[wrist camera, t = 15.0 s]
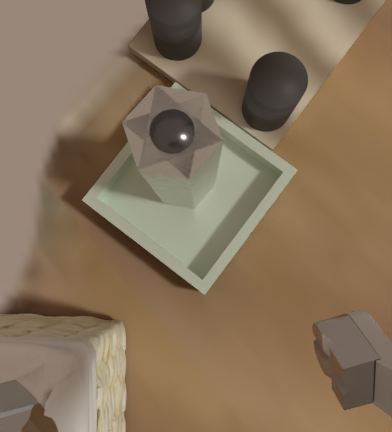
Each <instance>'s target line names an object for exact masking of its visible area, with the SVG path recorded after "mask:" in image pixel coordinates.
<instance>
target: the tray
mask: <svg viewBox="0 0 392 432" xmlns="http://www.w3.org/2000/svg"><path fill="white" fill-rule="evenodd" d="M171 88H177V89H183V90H186V89H185V88H183V87H182V86H181V85H179V84H178V83H176V82H175V83H174V84H173V85H172V87H171ZM211 109H212V108H211ZM212 111H213V114H214V117H215V120H216V122H217V125H218V128H219V131H220V133H221V136H222V139H223V145H222V150H221V156H220V161H219V167H218V172H217V177H216V183H215V186H214V187H213V188H212V190H211V191H210V192H209V193H208V194H207V195H206V196H205V198H204V199H203V200H202V201H201V202H200V203H199V205H198V206H197V207H196V208H195V209H192V208H187V207H182V206H176V205H171V204H166V203H163V201H162V200H161V199H160V197H159V196H158V195H157V194H156V192H155V191H154V190H153V189H152V187H151V186H150V185H149V184H148V182H147V181H146V180H145V179H144V177H143V176H142V175H141V173H140V172H139V171H138V169H137V166H136V163H135V160H134V157H133V154H132V151H131V148H130V145H129V142H127V143H126V145H125V146H124V147H123V149H122V150H121V151H120V152H119V154H118V155H117V156H116V157H115V159H114V160H113V161H112V162H111V164H110V165H109V166H108V168H107V169H106V170H105V171H104V173H103V174H102V175H101V176H100V178H99V179H98V180H97V181H96V183H95V184H94V185H93V186H92V188H91V189H90V190H89V192H88V193H87V194H86V195H85V197H84V198H83V199H82V201H83V202H85V203H86V204H87V205H89V206H90V207H91V208H93V209H94V210H95V211H96V212H98V213H99V214H100V215H102V216H103V217H104V218H105V219H107V220H108V221H109V222H111V223H112V224H113V225H115V226H116V227H117V228H118V229H120V230H121V231H122V232H124V233H125V234H126V235H128V236H129V237H130V238H131V239H133V240H134V241H135V242H137V243H138V244H139V245H140V246H142V247H143V248H144V249H146V250H147V251H148V252H150V253H151V254H152V255H153V256H155V257H156V258H157V259H159V260H160V261H161V262H163V263H164V264H165V265H166V266H168V267H169V268H170V269H172V270H173V271H174V272H176V273H177V274H178V275H179V276H181V277H182V278H183V279H185V280H186V281H187V282H188V283H190V284H191V285H192V286H194V287H195V288H196V289H198V290H199V291H200V292H201V293H203V294H204V295H205V294H206V293H207V291H208V290H209V289H210V287H211V286H212V284H213V283H214V282H215V280H216V279H217V278H218V276H219V275H220V274H221V272H222V271H223V270H224V268H225V267H226V266H227V264H228V263H229V262H230V260H231V259H232V258H233V256H234V255H235V254H236V252H237V251H238V250H239V248H240V247H241V246H242V244H243V243H244V242H245V240H246V239H247V238H248V236H249V235H250V233H251V232H252V231H253V229H254V228H255V227H256V225H257V224H258V223H259V221H260V220H261V219H262V217H263V216H264V215H265V213H266V212H267V211H268V209H269V208H270V207H271V205H272V204H273V203H274V201H275V200H276V199H277V197H278V196H279V195H280V193H281V192H282V191H283V189H284V188H285V186H286V185H287V184H288V182H289V181H290V180H291V178H292V177H293V176H294V174H295V173H296V172H297V169H295V168H294V167H293V166H291V165H290V164H289V163H287V162H286V161H284V160H283V159H282V158H280V157H279V156H277V155H276V154H275V153H273V152H272V151H271V150H269V149H268V148H266V147H265V146H264V145H262V144H261V143H259V142H258V141H257V140H255V139H254V138H253V137H251V136H250V135H248V134H247V133H246V132H244V131H243V130H241V129H240V128H239V127H237V126H236V125H235V124H233V123H232V122H230V121H229V120H228V119H226V118H225V117H223V116H222V115H221V114H219V113H218V112H217V111H215V110H214V109H212Z"/></svg>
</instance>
